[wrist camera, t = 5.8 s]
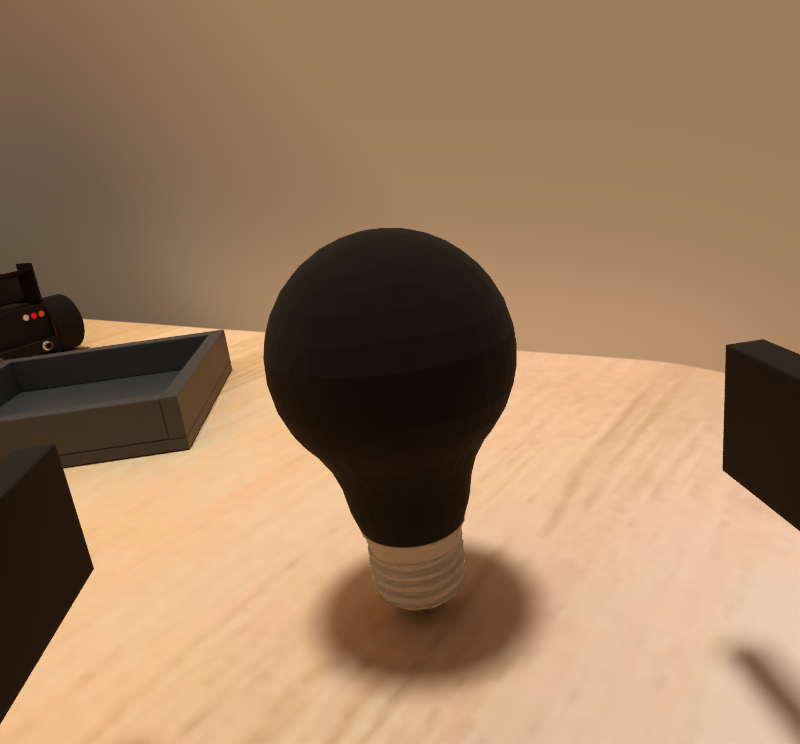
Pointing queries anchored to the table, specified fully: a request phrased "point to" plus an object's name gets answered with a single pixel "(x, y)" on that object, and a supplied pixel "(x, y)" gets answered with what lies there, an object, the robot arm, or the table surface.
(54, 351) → the toy truck
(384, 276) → the light bulb
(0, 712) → the robot arm
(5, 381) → the slate tray
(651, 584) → the table surface
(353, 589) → the table surface
